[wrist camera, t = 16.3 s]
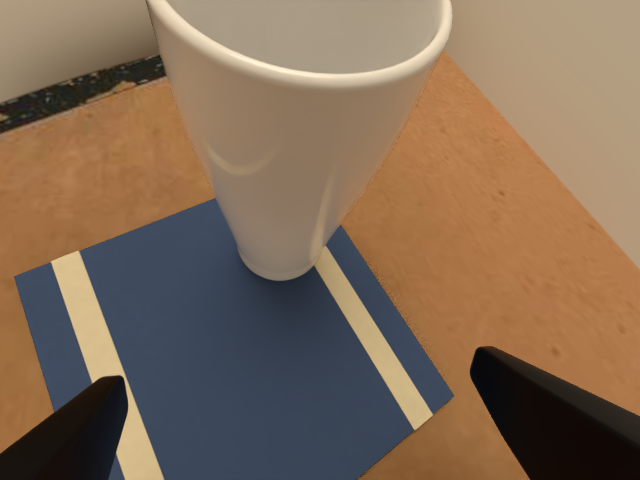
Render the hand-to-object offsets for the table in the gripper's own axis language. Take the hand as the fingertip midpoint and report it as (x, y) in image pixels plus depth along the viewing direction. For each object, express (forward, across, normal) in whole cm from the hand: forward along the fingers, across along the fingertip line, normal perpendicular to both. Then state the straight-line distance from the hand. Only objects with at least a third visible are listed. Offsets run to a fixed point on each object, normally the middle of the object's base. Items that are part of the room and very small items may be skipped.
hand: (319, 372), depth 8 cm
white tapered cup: (+13, 0, +1) cm, 13 cm away
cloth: (+9, +2, +6) cm, 11 cm away
